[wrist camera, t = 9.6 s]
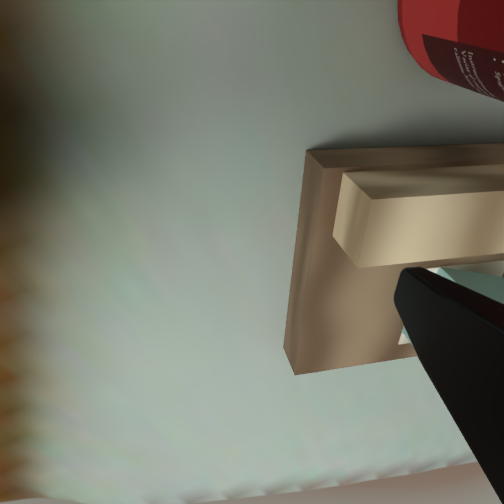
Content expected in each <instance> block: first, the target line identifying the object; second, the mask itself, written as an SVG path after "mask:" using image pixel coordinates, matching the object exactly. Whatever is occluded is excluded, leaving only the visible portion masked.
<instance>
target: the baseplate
mask: <svg viewBox="0 0 504 504" xmlns="http://www.w3.org/2000/svg"><path fill="white" fill-rule="evenodd" d="M498 164H504V143H484V144H458V145H432V146H406V147H379V148H353V149H327V150H306V157H305V165H304V174H303V183H302V191H301V200H300V209H299V217H298V226H297V235H296V243H295V252H294V261H293V269H292V278H291V286H290V295H289V304H288V312H287V321H286V330H285V338H284V347H283V348H284V350H285V353H286V355H287V357H288V360H289V362H290V365H291V367H292V370H293V372H294V375H300V374H306V373H312V372H319V371H325V370H331V369H338V368H344V367H350V366H357V365H363V364H369V363H376V362H382V361H388V360H395V359H401V358H407V357H414V356H417V354H416V352H415V350H414V348H413V346H412V344H411V343H410V342H409V340H408V339H407V338H406V337H405V335H404V334H403V333H402V329H403V328H404V325H403V323H402V321H401V318H400V316H399V314H398V312H397V309H396V307H395V304H394V292H395V289H396V285H397V282H398V279H399V275H400V272H401V271H402V269H404V268H406V267H417V266H419V267H423V268H425V269H427V270H429V271H431V272H434V273H437V271H438V269H439V268H440V267H444V268H450V269H457V270H463V271H469V272H476V273H482V274H488V275H494V276H501V277H503V278H504V253H498V254H489V255H479V256H470V257H460V258H451V259H441V260H431V261H422V262H412V263H403V264H393V265H384V266H374V267H364V268H357V267H356V266H355V265H354V263H353V262H352V261H351V259H350V258H349V257H348V255H347V254H346V253H345V252H344V250H343V249H342V248H341V246H340V245H339V244H338V242H337V241H336V240H335V239H334V237H333V230H334V224H335V218H336V212H337V206H338V200H339V194H340V188H341V182H342V176H343V172H361V171H380V170H400V169H419V168H439V167H459V166H478V165H498Z"/></svg>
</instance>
